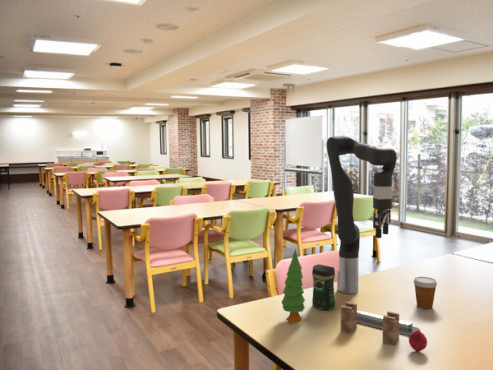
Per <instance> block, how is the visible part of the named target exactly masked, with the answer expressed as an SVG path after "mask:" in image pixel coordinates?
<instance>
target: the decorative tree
mask: <svg viewBox="0 0 493 370" xmlns="http://www.w3.org/2000/svg"><path fill="white" fill-rule="evenodd" d="M294 249H295V250H294V252H293V255H292V256H291V257H292V258H291V260H290V264H289V266H288V271H287V272H286V275H287V276H286V278H285V282H284V285H285V287H284V289H283V291H282V293H283V298H282V300H281V304H282V309H283V311H285V312H288V313H289V315H288V316H287V318H286V321H287V320H288V322H292V323H291V324H293V323H294V324H300V323H301V322H302V321H303V318H302V317H301V315H300V313H301V312H304V310H305V308H306V307H305V305H304V303H305V301H306V300H305V298H304V296H303V295H304V294H305V292H304V289H303V287H302V286H304V284H303V281H302V279H303V277H304V276H303V272H302V269H303V268H302V265H301V264H300V261H299V258H298V254H297V250H296V248H294ZM301 320H302V321H301ZM300 321H301V322H300ZM288 322H287V323H288ZM299 322H300V323H299Z"/></svg>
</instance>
